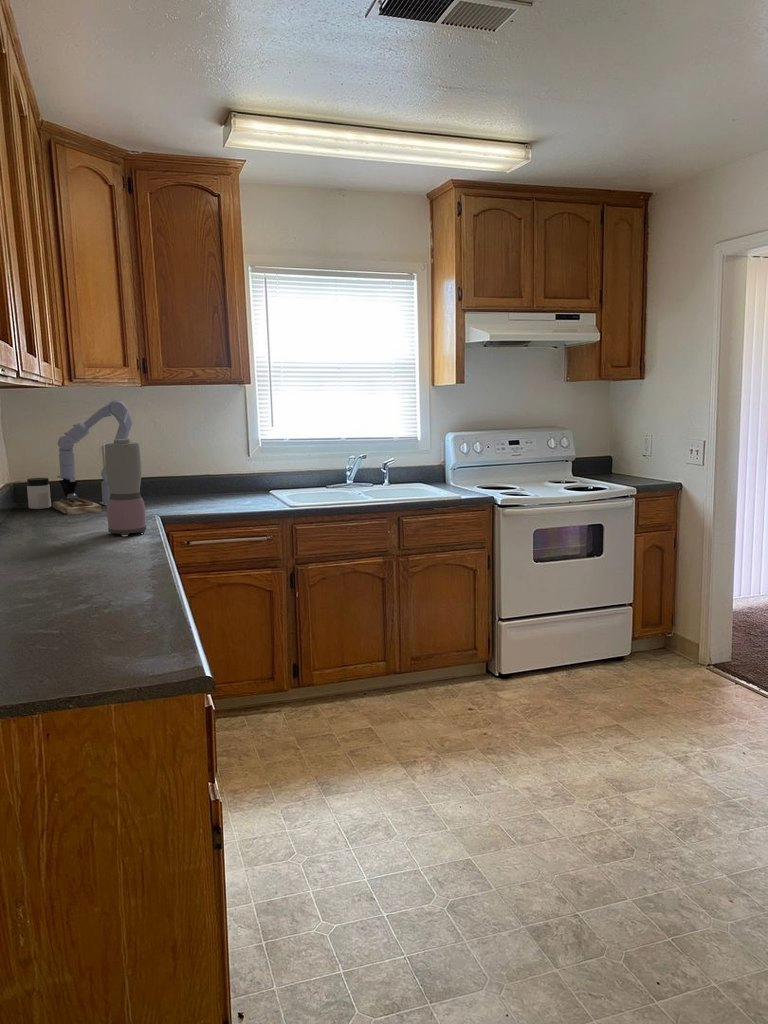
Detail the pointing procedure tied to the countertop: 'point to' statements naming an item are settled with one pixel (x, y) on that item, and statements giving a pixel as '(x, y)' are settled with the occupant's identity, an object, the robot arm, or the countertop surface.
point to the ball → (72, 497)
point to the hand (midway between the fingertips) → (69, 497)
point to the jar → (38, 493)
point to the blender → (124, 487)
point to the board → (77, 506)
